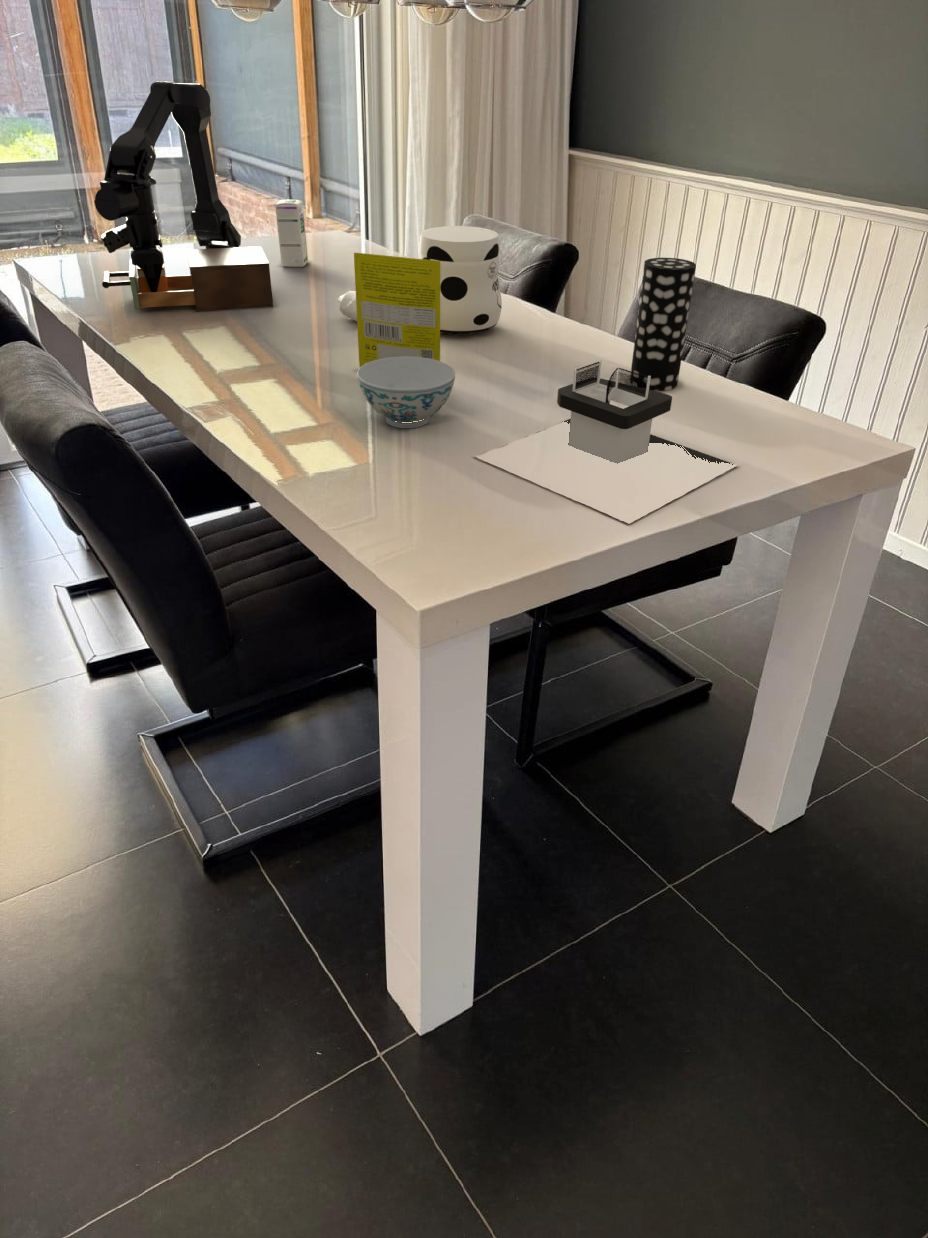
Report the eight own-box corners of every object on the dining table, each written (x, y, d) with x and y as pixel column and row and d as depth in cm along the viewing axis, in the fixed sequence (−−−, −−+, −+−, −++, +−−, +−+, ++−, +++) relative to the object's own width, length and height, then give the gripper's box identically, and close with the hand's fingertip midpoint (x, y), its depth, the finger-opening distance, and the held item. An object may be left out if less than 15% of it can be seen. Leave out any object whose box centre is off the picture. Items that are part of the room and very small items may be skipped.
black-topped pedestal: (739, 466, 129) (757, 375, 121) (628, 525, 113) (642, 426, 106) (587, 412, 145) (595, 329, 138) (473, 457, 130) (475, 367, 122)
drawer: (106, 311, 183) (99, 278, 180) (108, 291, 196) (101, 260, 192) (215, 304, 189) (210, 272, 185) (210, 285, 201) (206, 255, 198)
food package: (441, 380, 156) (441, 260, 145) (438, 382, 155) (439, 261, 144) (360, 369, 160) (355, 251, 149) (358, 371, 159) (352, 253, 148)
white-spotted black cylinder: (648, 393, 153) (665, 271, 141) (620, 378, 159) (634, 260, 148) (687, 386, 156) (706, 266, 145) (657, 372, 162) (674, 255, 151)
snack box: (142, 298, 190) (136, 268, 186) (142, 294, 193) (136, 264, 189) (169, 296, 191) (164, 267, 188) (168, 292, 194) (163, 263, 191)
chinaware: (419, 446, 133) (419, 396, 128) (339, 424, 139) (336, 376, 135) (472, 415, 143) (473, 368, 139) (396, 396, 150) (395, 350, 145)
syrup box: (304, 266, 222) (299, 203, 214) (280, 266, 222) (274, 202, 214) (308, 261, 227) (303, 199, 219) (285, 261, 227) (279, 198, 219)
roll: (355, 310, 191) (354, 283, 188) (384, 324, 183) (383, 296, 180) (330, 314, 188) (329, 287, 185) (359, 329, 180) (357, 300, 177)
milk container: (518, 328, 183) (522, 234, 172) (459, 346, 172) (461, 247, 162) (456, 311, 192) (457, 220, 182) (398, 327, 182) (395, 232, 172)
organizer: (196, 311, 189) (190, 266, 183) (193, 291, 201) (186, 249, 196) (273, 306, 192) (269, 262, 187) (265, 287, 205) (260, 246, 200)
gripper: (100, 204, 188) (115, 281, 197) (97, 222, 173) (113, 304, 182) (155, 202, 191) (167, 279, 199) (157, 219, 176) (170, 301, 185)
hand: (154, 290), depth 191 cm, fingers closed on snack box, 3 cm apart
